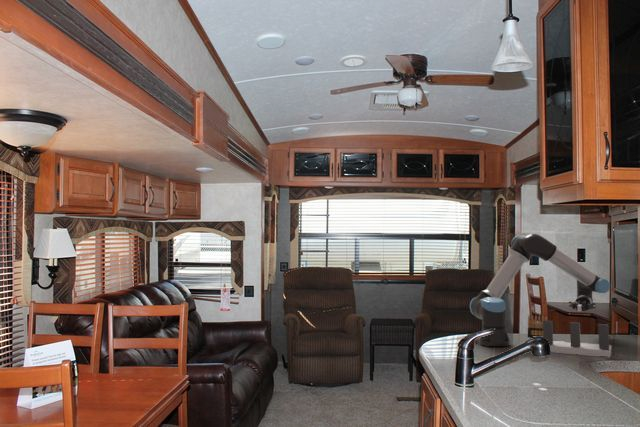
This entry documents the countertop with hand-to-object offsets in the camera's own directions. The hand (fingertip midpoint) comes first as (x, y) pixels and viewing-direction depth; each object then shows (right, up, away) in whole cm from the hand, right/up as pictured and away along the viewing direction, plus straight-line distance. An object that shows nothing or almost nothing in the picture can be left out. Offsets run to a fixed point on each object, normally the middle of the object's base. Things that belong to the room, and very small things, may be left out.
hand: (579, 308), depth 269 cm
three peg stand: (-6, -19, -10) cm, 22 cm away
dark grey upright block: (-8, -15, -13) cm, 22 cm away
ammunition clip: (-10, -20, +25) cm, 33 cm away
